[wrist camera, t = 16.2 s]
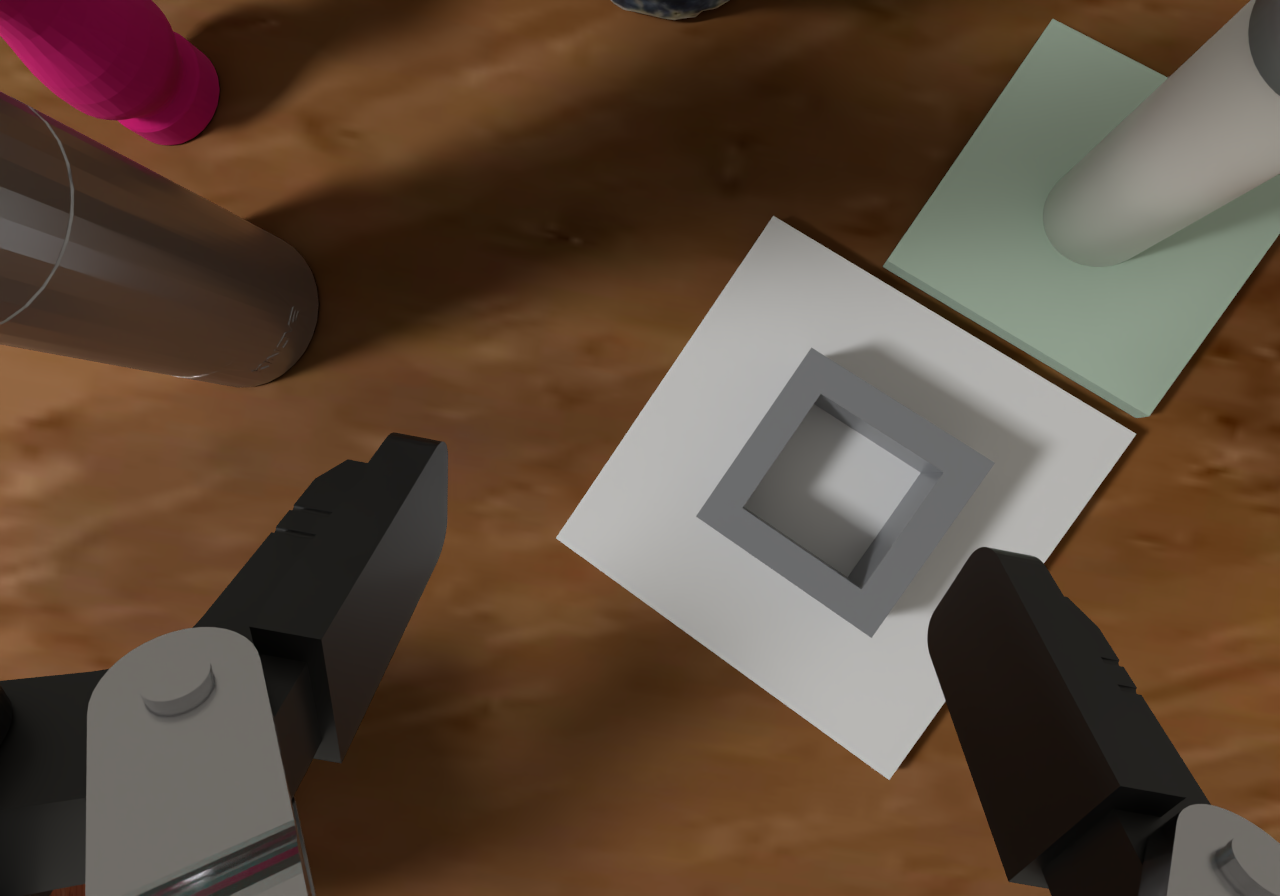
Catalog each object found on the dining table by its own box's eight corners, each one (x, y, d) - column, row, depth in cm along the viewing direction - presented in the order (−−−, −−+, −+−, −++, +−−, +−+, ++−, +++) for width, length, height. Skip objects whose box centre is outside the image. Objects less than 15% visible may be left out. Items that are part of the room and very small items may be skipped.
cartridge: (1018, 232, 31) (1264, 13, 17) (1082, 141, 31) (1390, -164, 16) (1117, 289, 31) (1469, 112, 16) (1184, 196, 30) (1604, -72, 16)
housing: (561, 536, 35) (535, 545, 31) (772, 223, 34) (777, 185, 30) (884, 770, 32) (908, 817, 28) (1123, 435, 31) (1188, 428, 27)
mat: (882, 266, 33) (887, 260, 32) (1043, 32, 33) (1052, 18, 32) (1136, 418, 31) (1149, 416, 30) (1312, 171, 31) (1331, 161, 30)
